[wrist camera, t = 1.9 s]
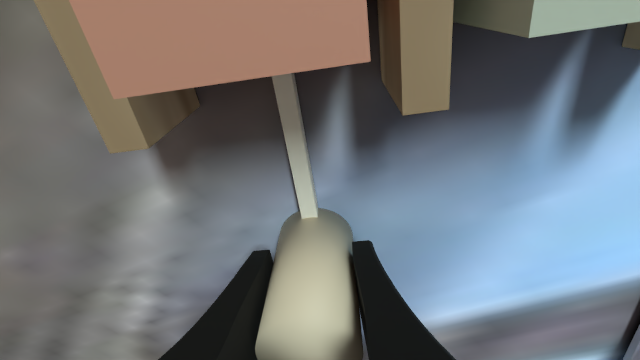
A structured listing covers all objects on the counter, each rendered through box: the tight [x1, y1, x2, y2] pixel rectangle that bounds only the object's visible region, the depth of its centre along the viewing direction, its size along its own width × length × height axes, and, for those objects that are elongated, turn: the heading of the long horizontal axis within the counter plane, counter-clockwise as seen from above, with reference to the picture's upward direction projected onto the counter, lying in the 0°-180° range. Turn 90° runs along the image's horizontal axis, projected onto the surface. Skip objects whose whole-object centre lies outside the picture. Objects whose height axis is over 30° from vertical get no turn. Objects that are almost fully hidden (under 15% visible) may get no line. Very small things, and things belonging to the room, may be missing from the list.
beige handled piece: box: [69, 0, 371, 360], centre depth 9 cm, size 4×14×5 cm, turn 8°
